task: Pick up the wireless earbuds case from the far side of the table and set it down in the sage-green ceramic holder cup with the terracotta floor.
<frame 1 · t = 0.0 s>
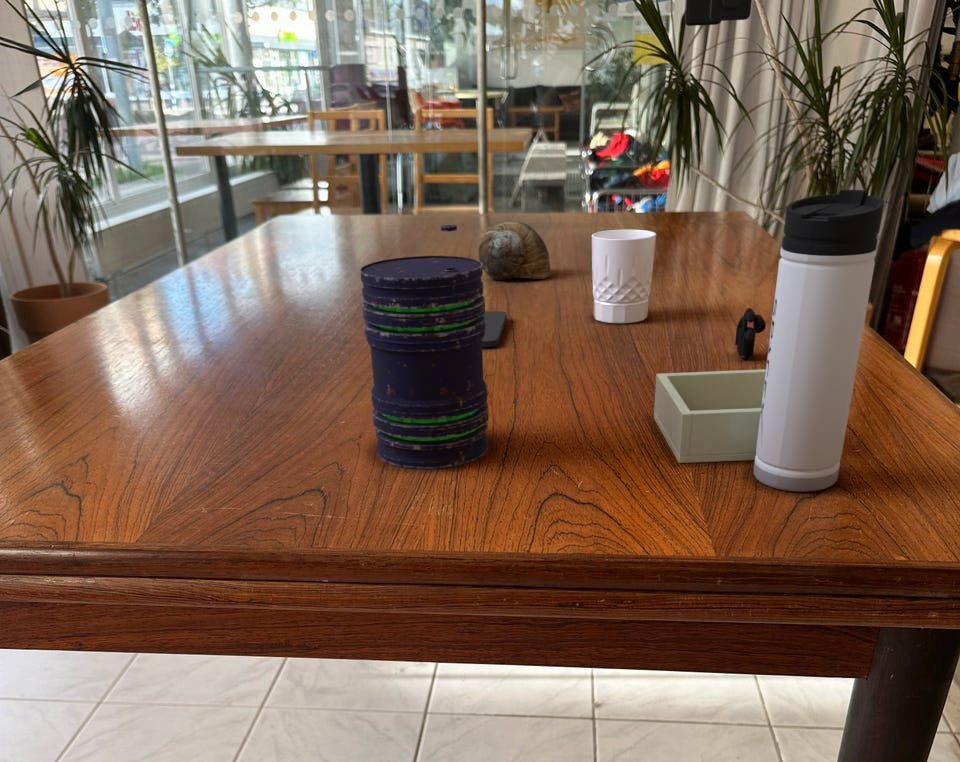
hand: (715, 22, 81), 31 cm above the table, tool pointing down, fingers open, 9 cm apart
wireless earbuds: (748, 359, 103), on the table
travel mug: (795, 479, 73), on the table
storage jar: (433, 450, 82), on the table
seashell: (515, 278, 147), on the table
white cup: (620, 319, 121), on the table
phone: (473, 333, 117), on the table
holder: (732, 436, 82), on the table
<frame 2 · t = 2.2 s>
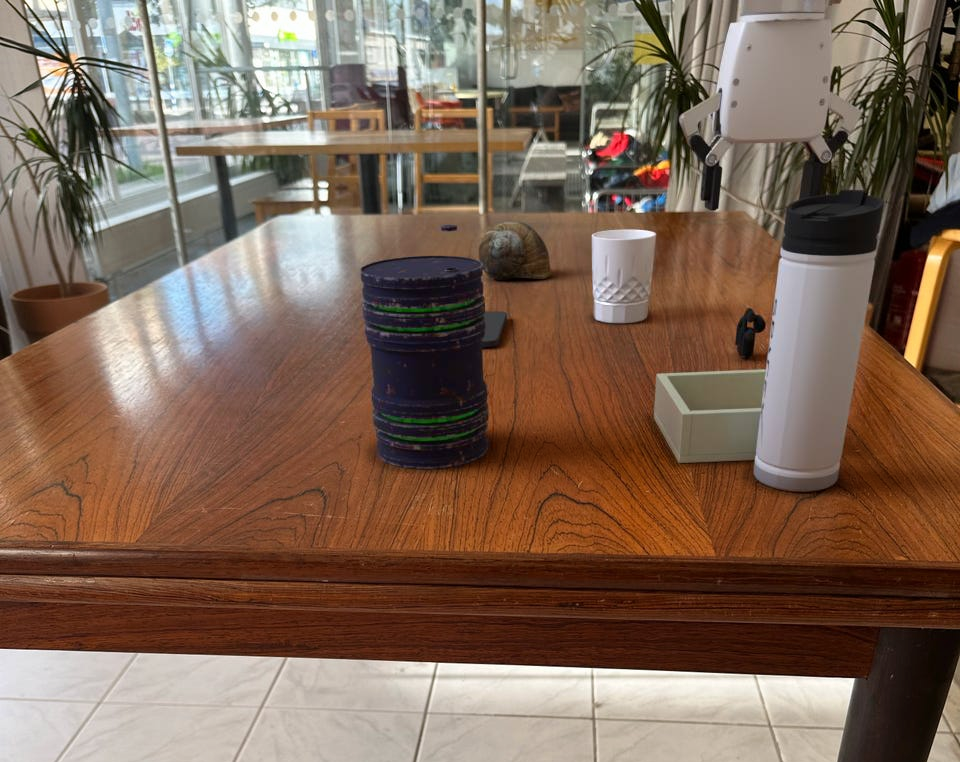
hand: (758, 207, 95), 15 cm above the table, tool pointing down, fingers open, 9 cm apart
nothing on the table moved.
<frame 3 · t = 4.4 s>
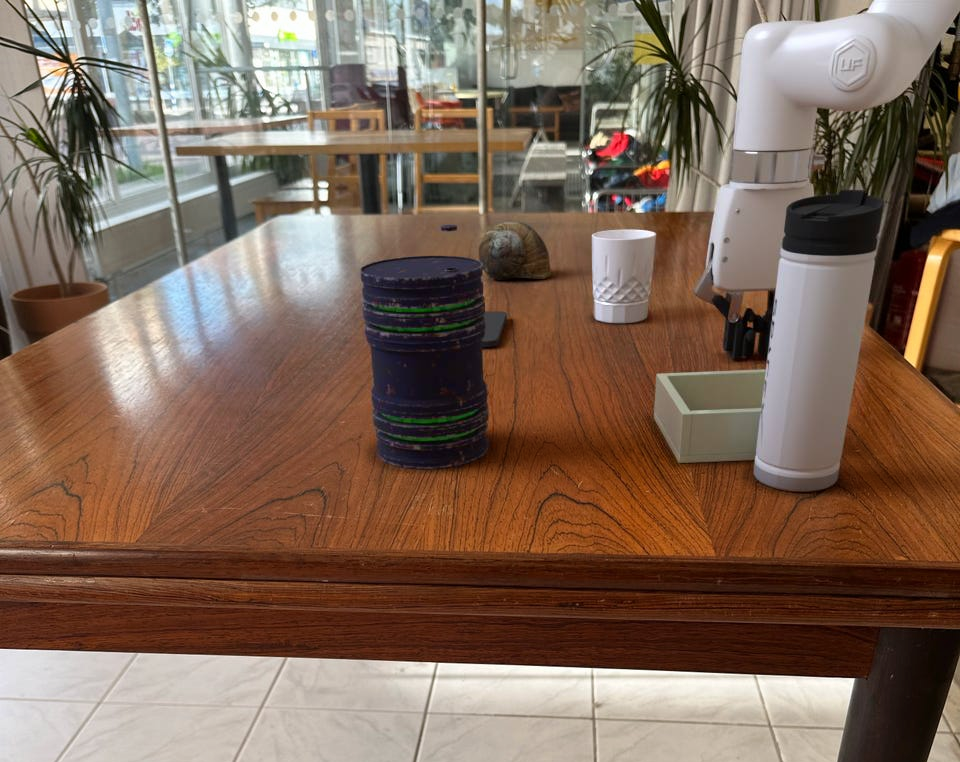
hand: (748, 355, 103), 0 cm above the table, tool pointing down, fingers closed on wireless earbuds, 2 cm apart
wireless earbuds: (748, 359, 103), on the table, touching gripper
everything else where it was.
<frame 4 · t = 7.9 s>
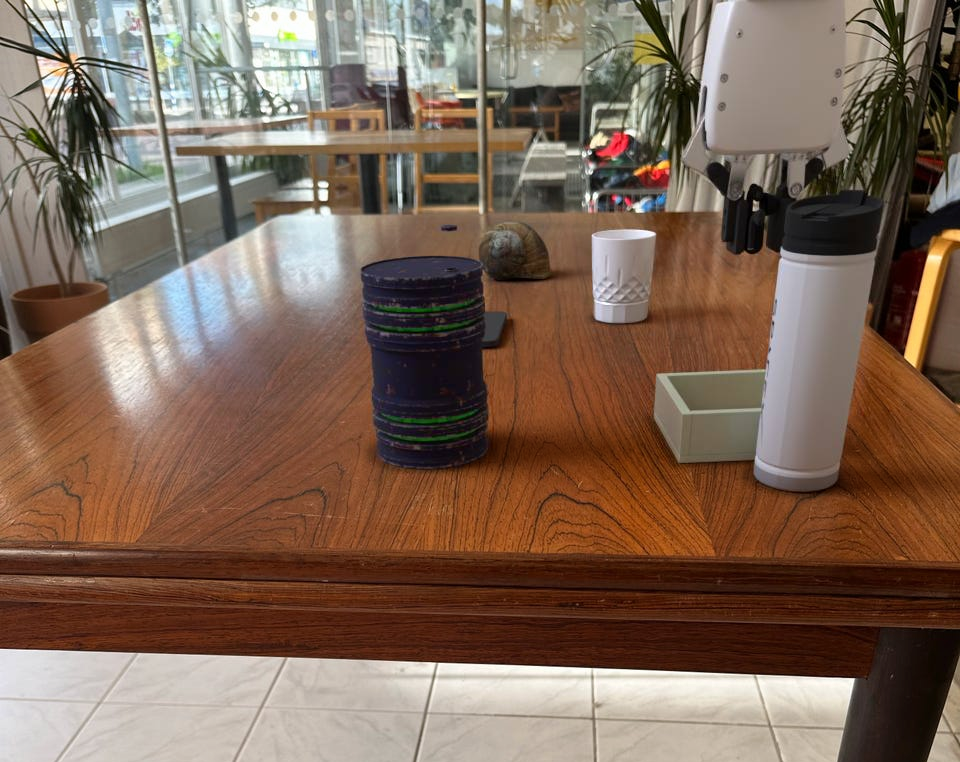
hand: (754, 248, 77), 15 cm above the table, tool pointing down, fingers closed on wireless earbuds, 2 cm apart
wireless earbuds: (756, 254, 77), point 14 cm above the table, touching gripper
everything else where it was.
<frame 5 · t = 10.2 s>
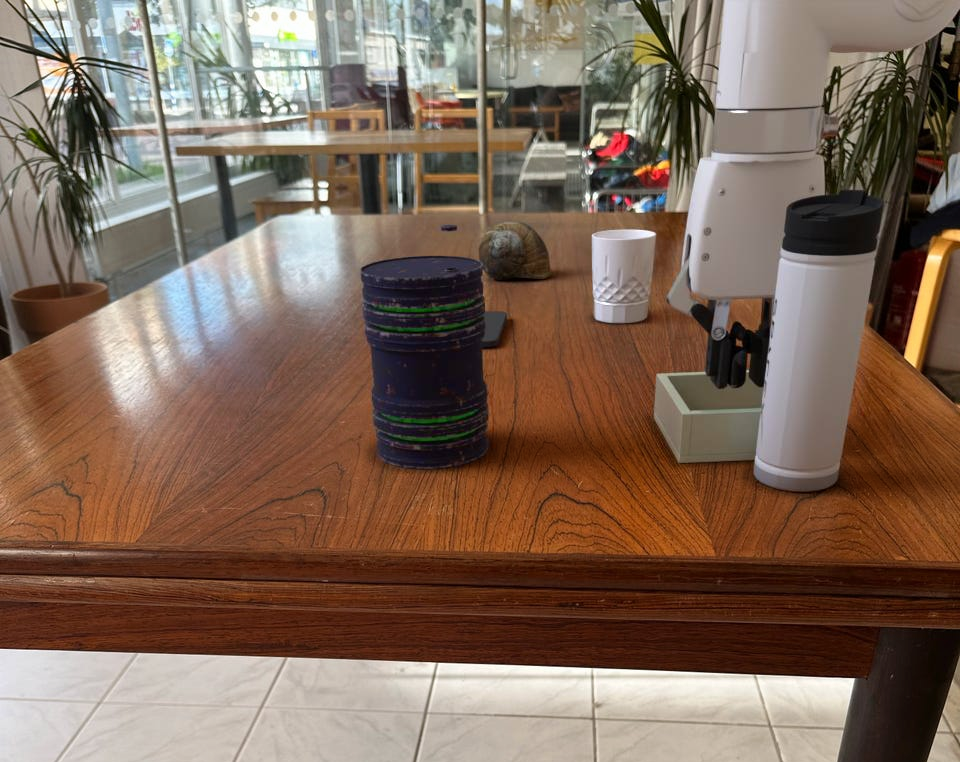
hand: (737, 381, 79), 5 cm above the table, tool pointing down, fingers closed on wireless earbuds, 2 cm apart
wireless earbuds: (739, 387, 79), point 4 cm above the table, touching gripper
everything else where it was.
when the fingers open (2 cm above the table, at t = 12.3 s): wireless earbuds stays where it is, resting on holder.
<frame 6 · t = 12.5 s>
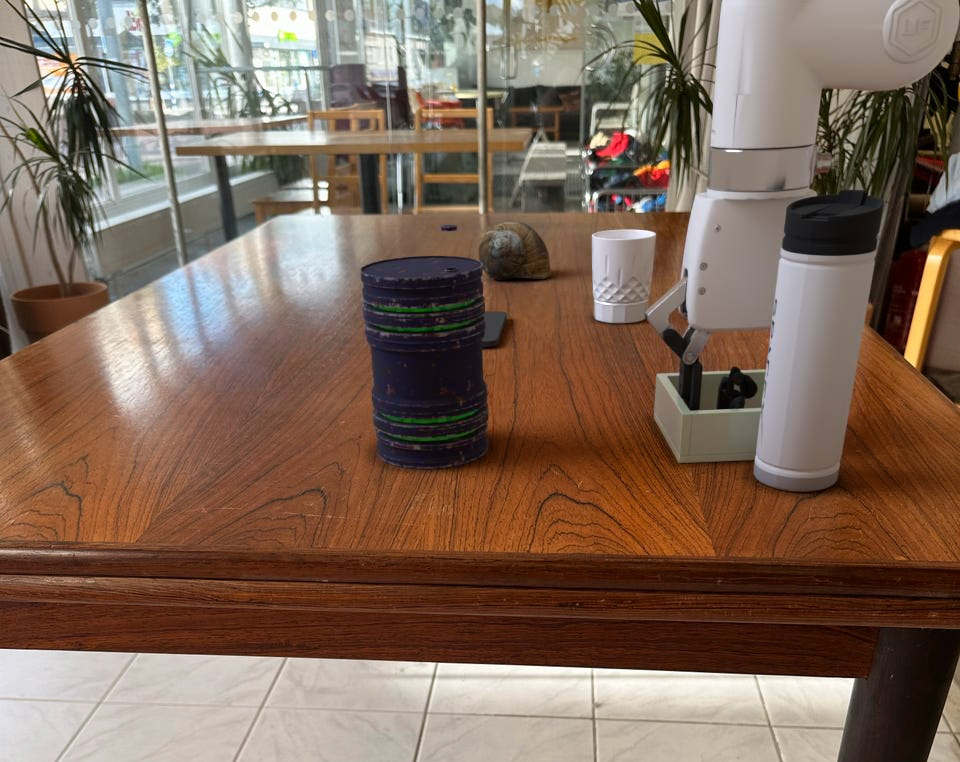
hand: (735, 403, 80), 3 cm above the table, tool pointing down, fingers open, 7 cm apart
wireless earbuds: (735, 429, 81), point 1 cm above the table, touching holder
everything else where it was.
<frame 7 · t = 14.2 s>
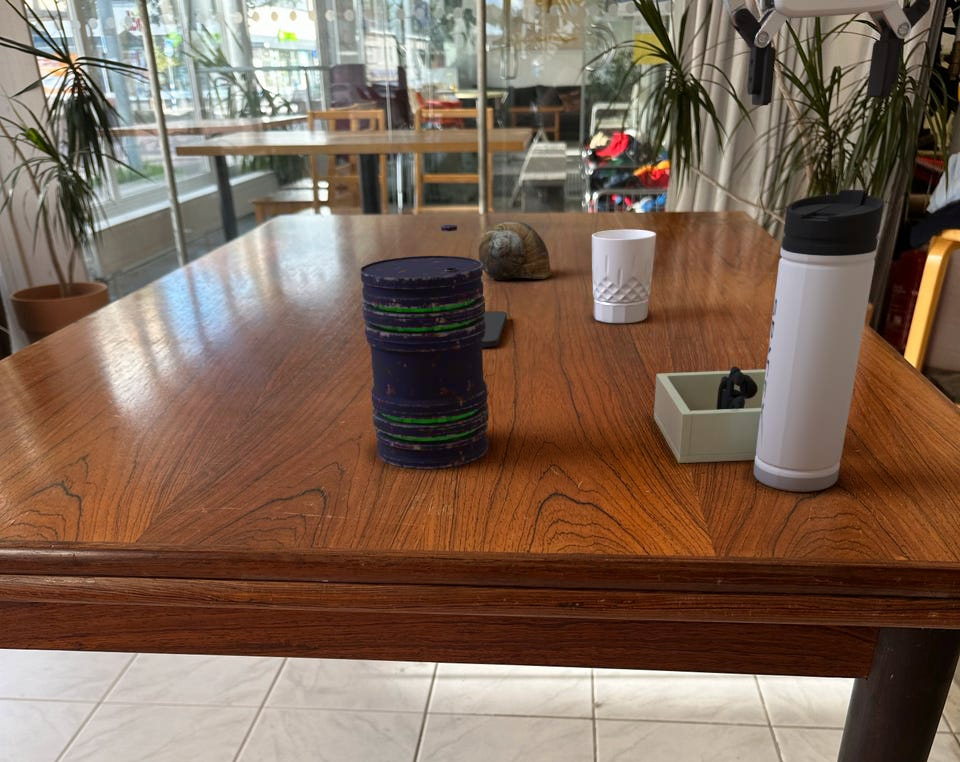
hand: (819, 101, 77), 25 cm above the table, tool pointing down, fingers open, 9 cm apart
nothing on the table moved.
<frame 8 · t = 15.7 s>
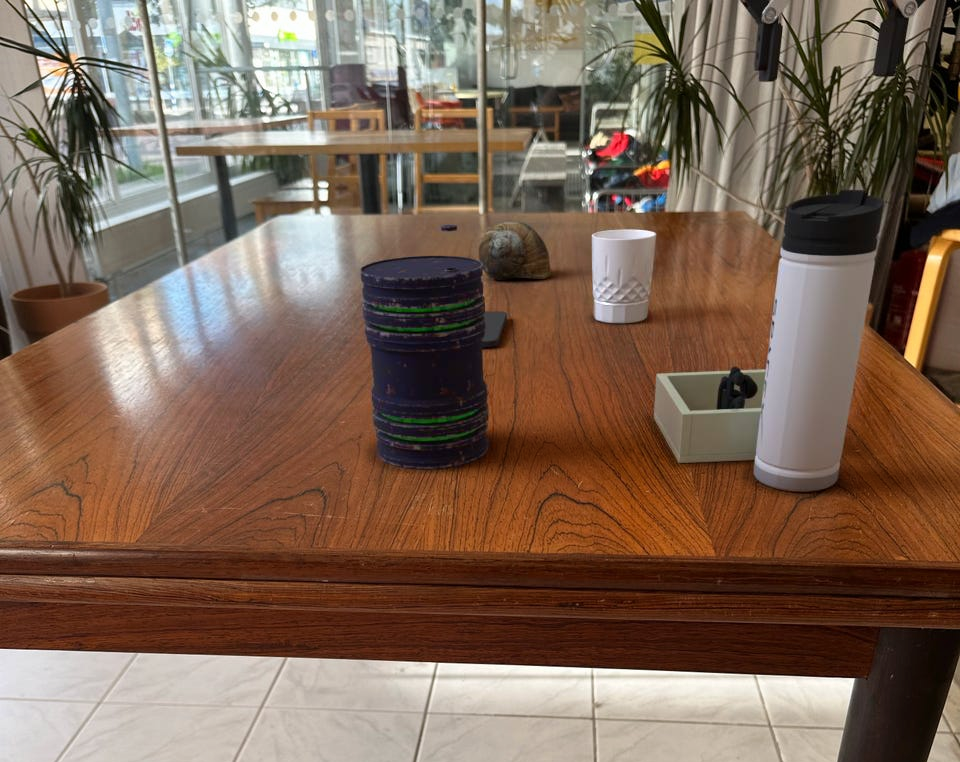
hand: (825, 78, 78), 26 cm above the table, tool pointing down, fingers open, 9 cm apart
nothing on the table moved.
at the end: wireless earbuds inside the target area in the holder (0.2 cm from its centre), point 0.6 cm above the holder's base; the gripper is holding nothing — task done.
